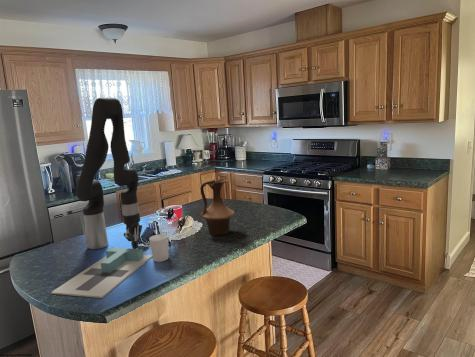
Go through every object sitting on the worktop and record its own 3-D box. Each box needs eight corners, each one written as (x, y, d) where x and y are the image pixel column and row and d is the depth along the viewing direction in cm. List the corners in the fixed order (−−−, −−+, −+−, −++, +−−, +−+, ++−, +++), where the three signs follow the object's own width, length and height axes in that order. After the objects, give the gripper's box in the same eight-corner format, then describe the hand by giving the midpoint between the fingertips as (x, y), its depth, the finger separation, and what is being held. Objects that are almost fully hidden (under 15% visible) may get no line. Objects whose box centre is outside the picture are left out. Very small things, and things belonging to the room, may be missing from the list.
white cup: (154, 264, 157) (151, 241, 155) (149, 258, 164) (147, 236, 162) (172, 259, 160) (169, 237, 159) (166, 253, 167) (164, 232, 166)
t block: (89, 271, 153) (87, 262, 152) (112, 256, 168) (110, 247, 167) (123, 273, 148) (121, 264, 148) (143, 257, 163) (142, 249, 163)
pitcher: (208, 240, 181) (203, 184, 176) (197, 230, 196) (192, 179, 191) (240, 233, 188) (237, 179, 182) (228, 224, 203) (224, 174, 198)
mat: (51, 293, 137) (51, 292, 136) (110, 254, 171) (110, 253, 171) (102, 298, 131) (102, 296, 130) (152, 256, 165) (152, 255, 165)
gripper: (131, 208, 176) (135, 242, 179) (115, 216, 163) (120, 253, 167) (145, 208, 174) (149, 243, 177) (130, 216, 161) (135, 254, 165)
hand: (135, 248), depth 172 cm, fingers closed
